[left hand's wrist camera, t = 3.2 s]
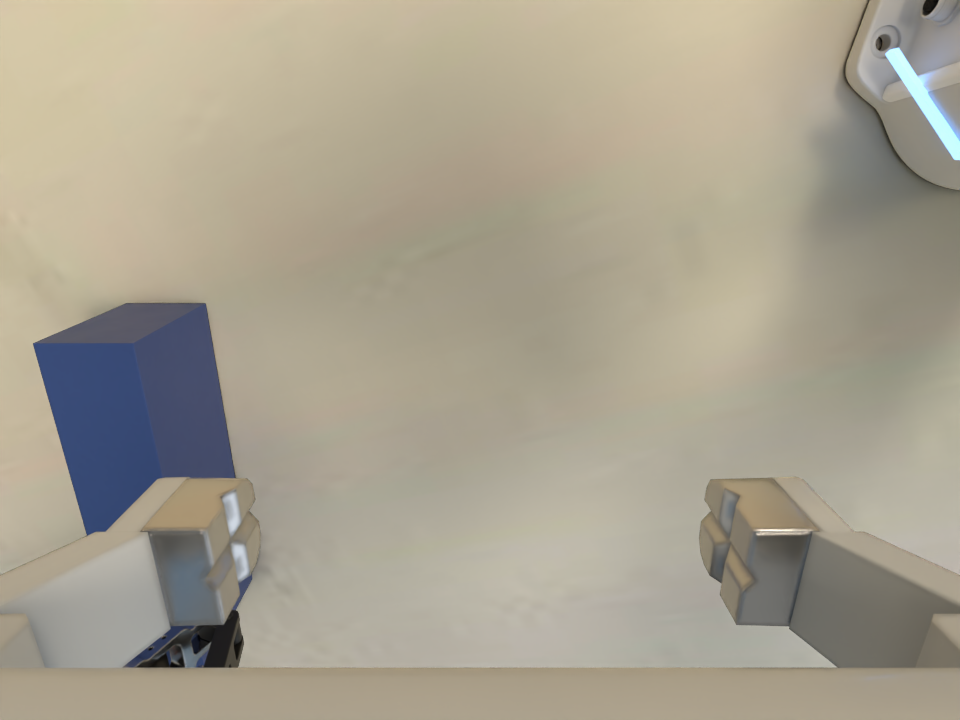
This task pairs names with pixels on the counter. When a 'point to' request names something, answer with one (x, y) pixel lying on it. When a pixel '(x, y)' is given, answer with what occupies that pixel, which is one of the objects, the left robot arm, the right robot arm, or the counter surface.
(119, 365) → the block
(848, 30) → the counter surface
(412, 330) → the counter surface
